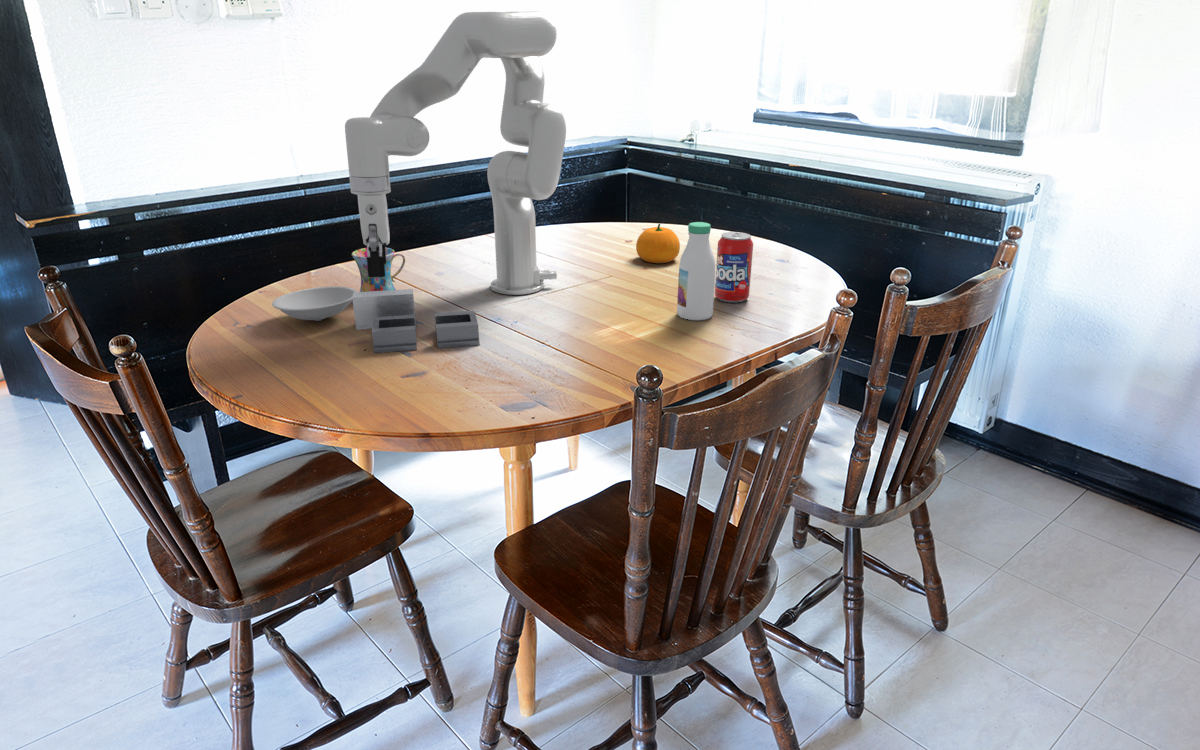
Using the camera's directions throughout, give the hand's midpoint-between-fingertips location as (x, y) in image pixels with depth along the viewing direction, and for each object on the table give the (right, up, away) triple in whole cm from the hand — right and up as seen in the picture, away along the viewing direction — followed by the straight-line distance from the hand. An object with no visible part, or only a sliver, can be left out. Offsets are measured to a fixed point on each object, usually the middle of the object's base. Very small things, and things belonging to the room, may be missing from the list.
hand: (377, 270), depth 160 cm
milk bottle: (+66, -9, +11) cm, 67 cm away
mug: (-5, -3, +23) cm, 24 cm away
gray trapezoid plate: (0, -11, +5) cm, 12 cm away
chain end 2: (+16, -14, -2) cm, 22 cm away
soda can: (+75, -4, +22) cm, 78 cm away
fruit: (+61, +9, +53) cm, 81 cm away
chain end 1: (+5, -15, -4) cm, 16 cm away
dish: (-15, -10, +8) cm, 19 cm away
